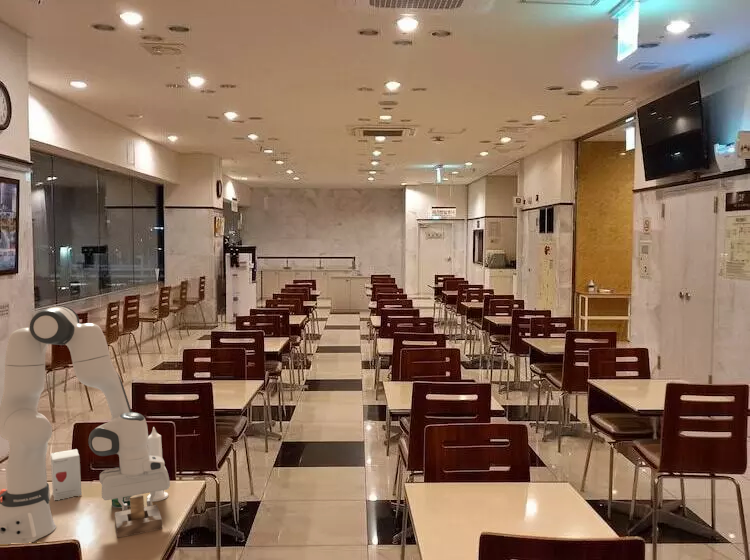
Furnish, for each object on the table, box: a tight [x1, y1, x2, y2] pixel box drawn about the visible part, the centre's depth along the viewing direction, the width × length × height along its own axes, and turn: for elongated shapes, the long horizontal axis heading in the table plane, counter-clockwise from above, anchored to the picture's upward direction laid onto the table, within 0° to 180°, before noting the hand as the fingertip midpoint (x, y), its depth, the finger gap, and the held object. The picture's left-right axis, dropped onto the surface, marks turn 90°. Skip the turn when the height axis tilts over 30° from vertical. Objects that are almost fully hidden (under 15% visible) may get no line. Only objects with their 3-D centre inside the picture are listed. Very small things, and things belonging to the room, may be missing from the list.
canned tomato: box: [111, 495, 134, 509], centre depth 226 cm, size 8×8×11 cm
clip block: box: [114, 504, 163, 538], centre depth 209 cm, size 13×13×3 cm
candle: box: [146, 426, 169, 502], centre depth 230 cm, size 7×7×25 cm
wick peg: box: [129, 494, 145, 521], centre depth 209 cm, size 4×4×9 cm
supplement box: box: [50, 448, 83, 501], centre depth 236 cm, size 9×9×15 cm
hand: (137, 507), depth 208 cm, fingers open, 6 cm apart
